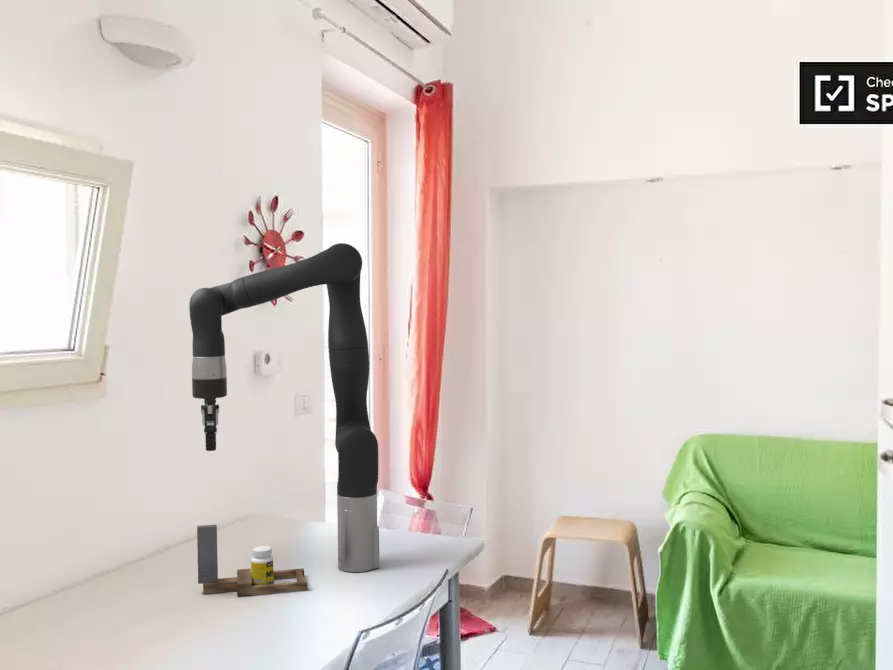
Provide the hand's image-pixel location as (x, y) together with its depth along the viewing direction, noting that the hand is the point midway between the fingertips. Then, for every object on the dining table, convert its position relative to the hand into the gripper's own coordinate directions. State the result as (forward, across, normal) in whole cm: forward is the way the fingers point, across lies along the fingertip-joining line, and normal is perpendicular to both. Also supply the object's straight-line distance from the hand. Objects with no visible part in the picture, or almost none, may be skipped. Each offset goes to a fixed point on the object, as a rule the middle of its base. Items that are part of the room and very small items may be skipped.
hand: (211, 447), depth 184 cm
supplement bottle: (+29, -12, -10) cm, 33 cm away
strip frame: (+29, -12, -8) cm, 32 cm away
